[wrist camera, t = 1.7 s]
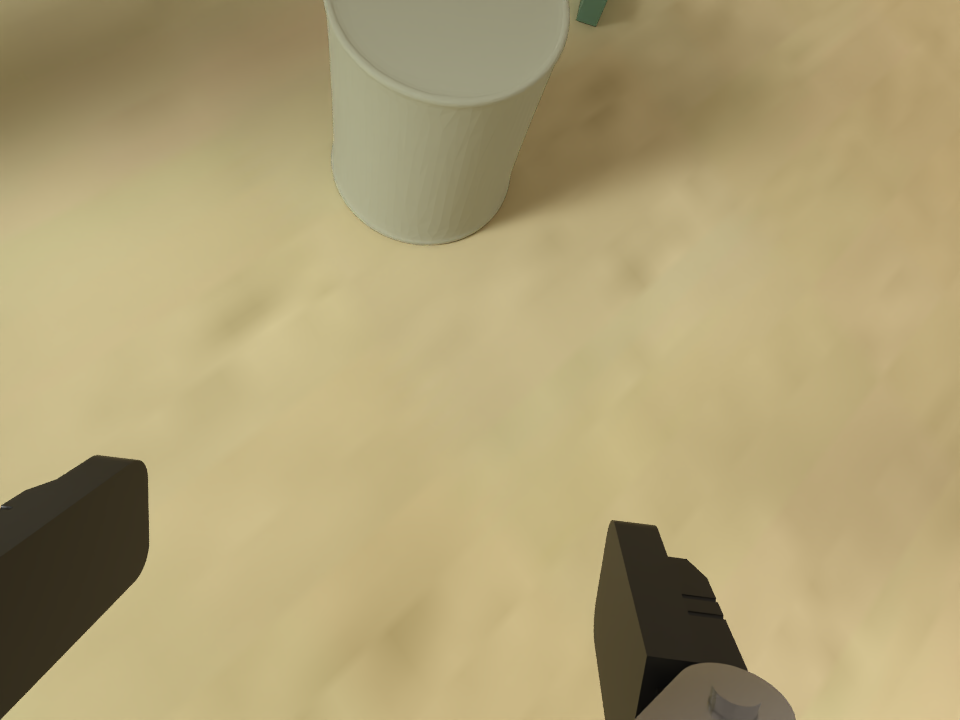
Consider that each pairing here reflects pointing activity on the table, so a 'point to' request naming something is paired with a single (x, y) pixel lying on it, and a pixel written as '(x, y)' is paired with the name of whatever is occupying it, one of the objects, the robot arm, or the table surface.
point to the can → (435, 106)
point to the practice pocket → (590, 11)
